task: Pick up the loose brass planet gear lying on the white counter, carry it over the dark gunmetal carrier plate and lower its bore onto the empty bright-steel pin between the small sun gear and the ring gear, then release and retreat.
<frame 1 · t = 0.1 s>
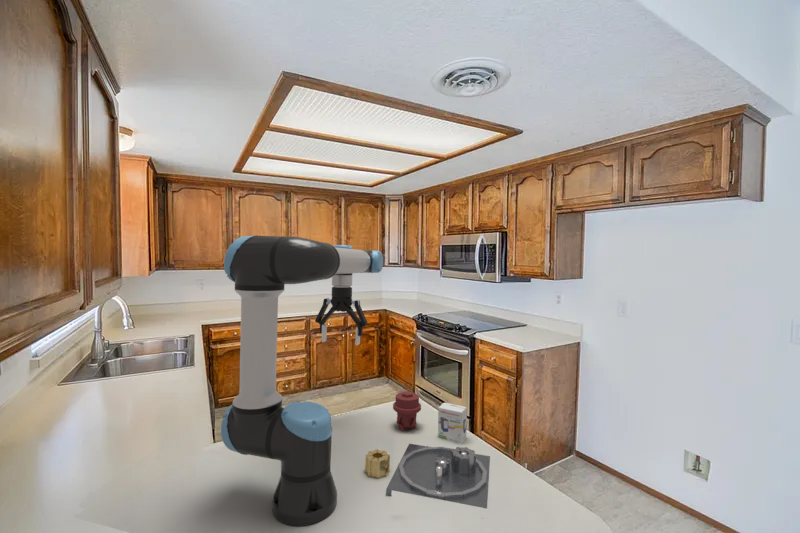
hand: (340, 343, 142), 28 cm above the counter, fingers open, 13 cm apart
seated gear: (463, 468, 107), resting on carrier
ink box: (451, 442, 126), on the counter
planet gear: (377, 471, 107), on the counter
mechanical component: (406, 427, 136), on the counter
carrier: (442, 476, 105), on the counter
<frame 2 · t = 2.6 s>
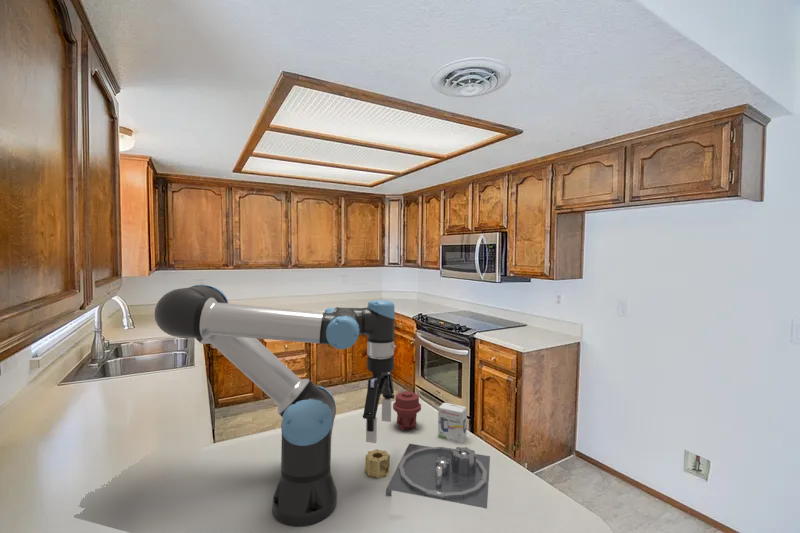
hand: (379, 430, 107), 11 cm above the counter, fingers open, 13 cm apart
nothing on the counter moved.
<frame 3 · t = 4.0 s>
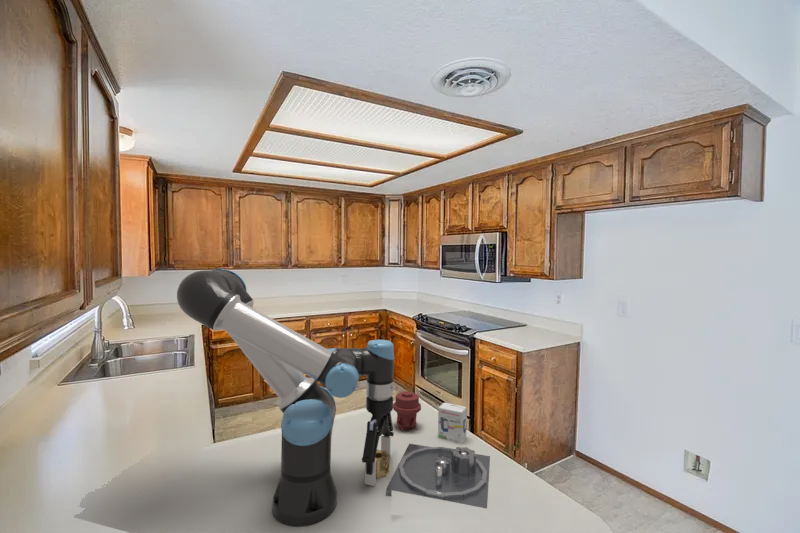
hand: (378, 470, 107), 0 cm above the counter, fingers open, 13 cm apart
nothing on the counter moved.
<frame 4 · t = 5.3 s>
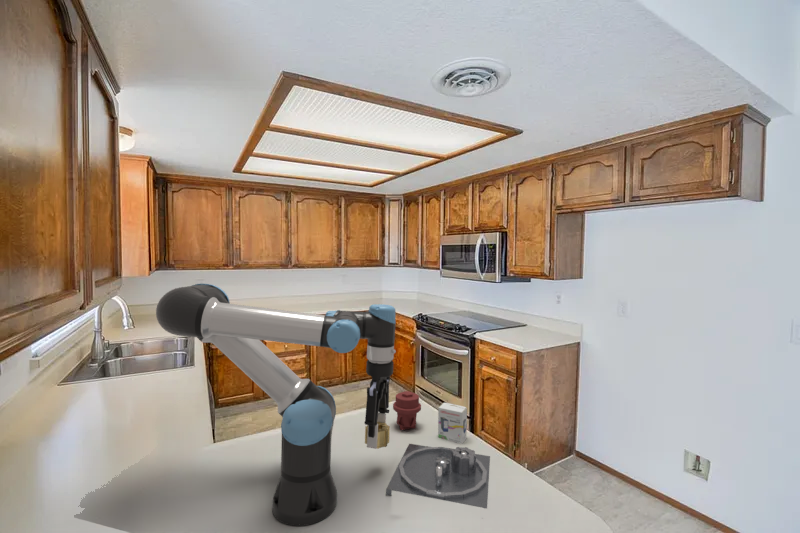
hand: (376, 441, 107), 9 cm above the counter, fingers closed on planet gear, 7 cm apart
planet gear: (376, 442, 107), point 8 cm above the counter, touching gripper
everything else where it was.
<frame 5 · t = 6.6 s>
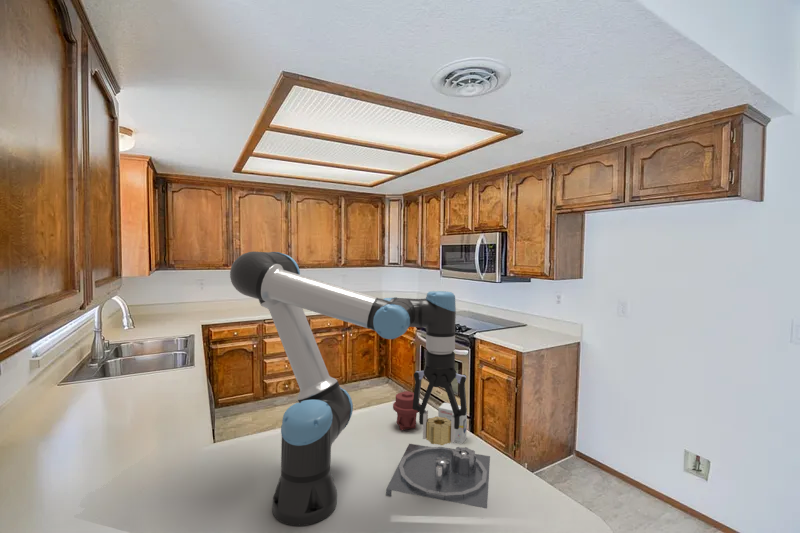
hand: (439, 438, 99), 13 cm above the counter, fingers closed on planet gear, 7 cm apart
planet gear: (439, 438, 100), point 13 cm above the counter, touching gripper
everything else where it was.
when the fingers open (2 cm above the counter, at t = 8.5 s): planet gear stays where it is, resting on carrier.
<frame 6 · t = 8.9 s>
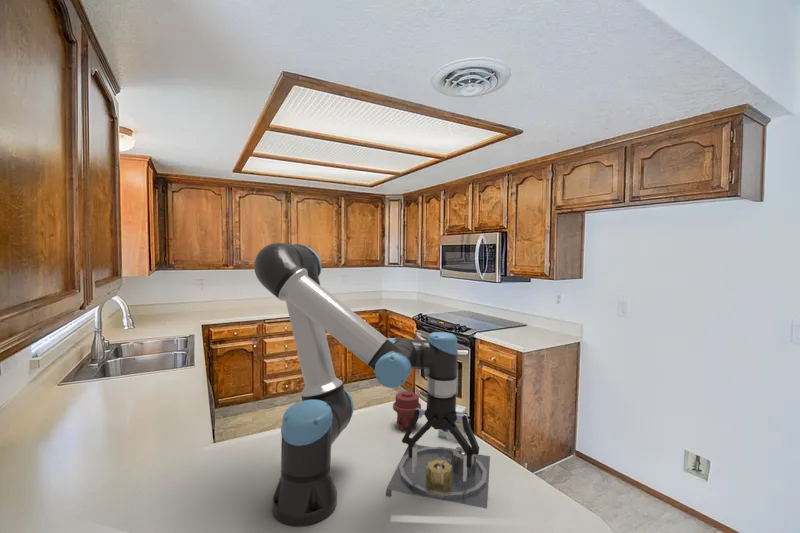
hand: (439, 474, 99), 4 cm above the counter, fingers open, 13 cm apart
planet gear: (438, 483, 99), point 1 cm above the counter, touching carrier
everything else where it was.
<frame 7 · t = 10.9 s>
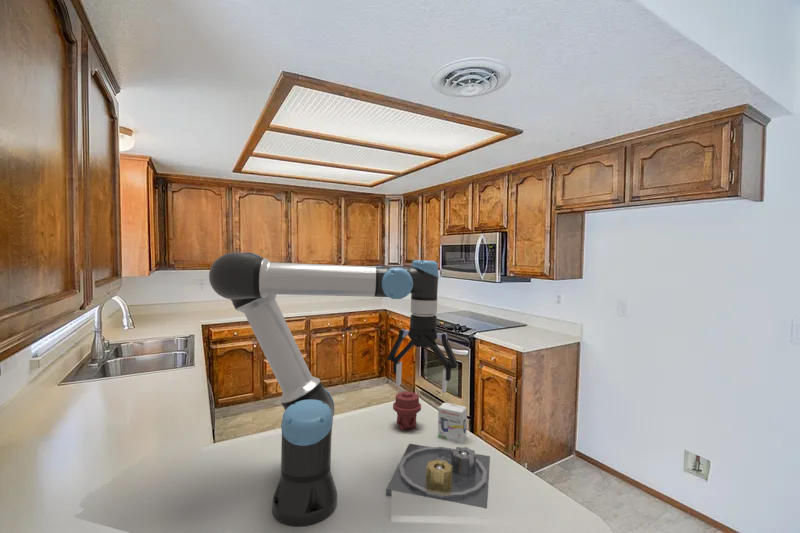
hand: (421, 388, 109), 23 cm above the counter, fingers open, 13 cm apart
nothing on the counter moved.
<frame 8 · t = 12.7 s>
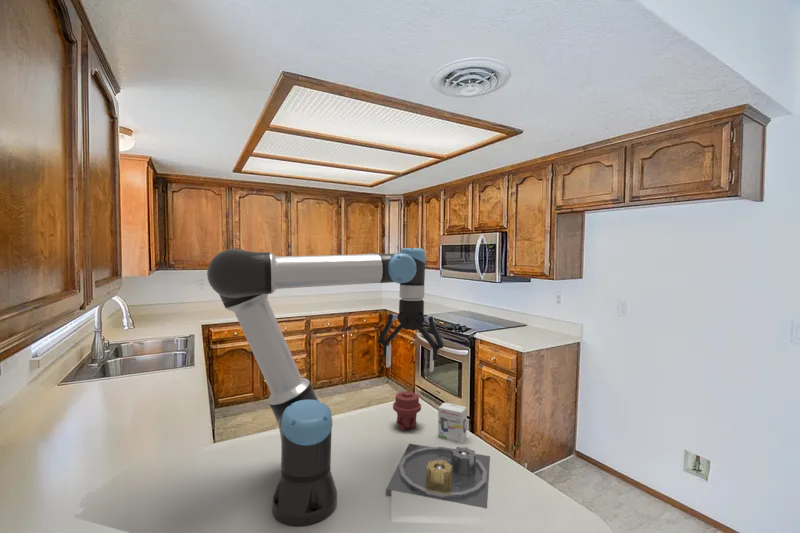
hand: (409, 368, 116), 27 cm above the counter, fingers open, 13 cm apart
nothing on the counter moved.
at the end: planet gear 0.3 cm from the target spot, point 1.5 cm above the counter; planet gear tilted 0°; the gripper is holding nothing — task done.
